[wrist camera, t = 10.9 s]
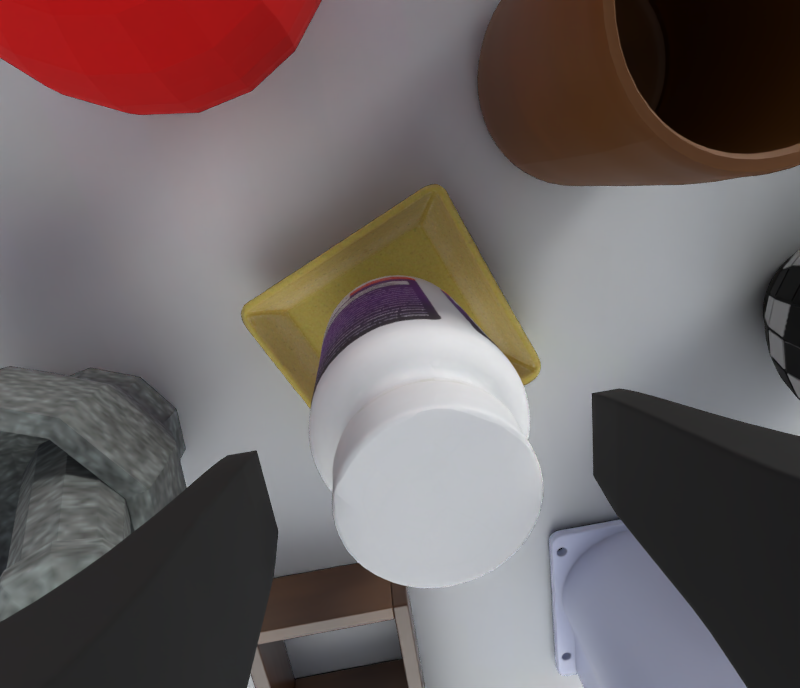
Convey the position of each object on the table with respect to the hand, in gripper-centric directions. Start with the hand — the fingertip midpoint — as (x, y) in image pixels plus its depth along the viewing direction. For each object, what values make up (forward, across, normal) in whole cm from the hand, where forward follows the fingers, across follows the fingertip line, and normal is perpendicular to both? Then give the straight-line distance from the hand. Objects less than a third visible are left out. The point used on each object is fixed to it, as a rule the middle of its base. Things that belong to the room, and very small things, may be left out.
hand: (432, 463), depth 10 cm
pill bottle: (+8, 0, 0) cm, 9 cm away
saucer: (+11, 0, 0) cm, 11 cm away
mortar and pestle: (+11, +12, +2) cm, 16 cm away
